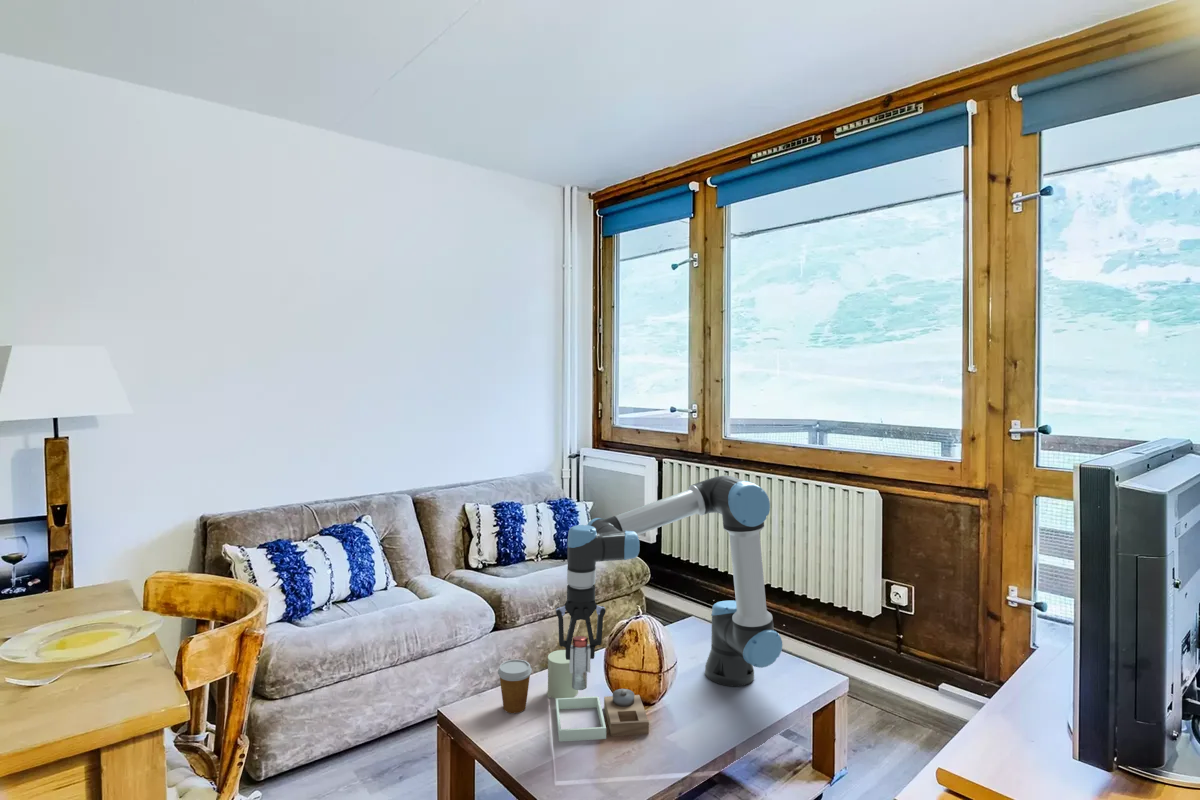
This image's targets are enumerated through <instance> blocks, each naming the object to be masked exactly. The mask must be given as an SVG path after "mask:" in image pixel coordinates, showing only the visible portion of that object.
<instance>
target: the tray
mask: <svg viewBox="0 0 1200 800" xmlns="http://www.w3.org/2000/svg"><path fill="white" fill-rule="evenodd" d="M600 699H601V698H600V696H599V695H598V696H579V697H576V696H575V697H574V698H556V699H555V716H556V727H557V728H556V729H557V735H558V737H557V738H558V742H573V741H574V742H577V741H592V740H593V741H594V740H607V727H606V722H605V721H606V720H605V717H604V712H603V709H602V705H601V704H602V703H601V701H600ZM592 708H594V709H595V708H597V709H596V711H597V715H598V719H599V723H600V726H596V727H581V728H579V727H578V728H562V724H561V716H560V710H570V709H571V710H572V709H592Z"/></svg>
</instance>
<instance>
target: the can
mask: <svg viewBox="0 0 1200 800" xmlns="http://www.w3.org/2000/svg"><path fill="white" fill-rule="evenodd" d="M565 654H566V649H557V650H555V651H554V650H553V651H551V652H550V653H549V654H547V694H546V695H547V698H548V699H549V700H551V699H550V698H552V699H554V700H556V698H574V697H576V696H577V695H578V694H579V690H575V689H573V688H572V673H570V669H569V660H566V656H565Z"/></svg>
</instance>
